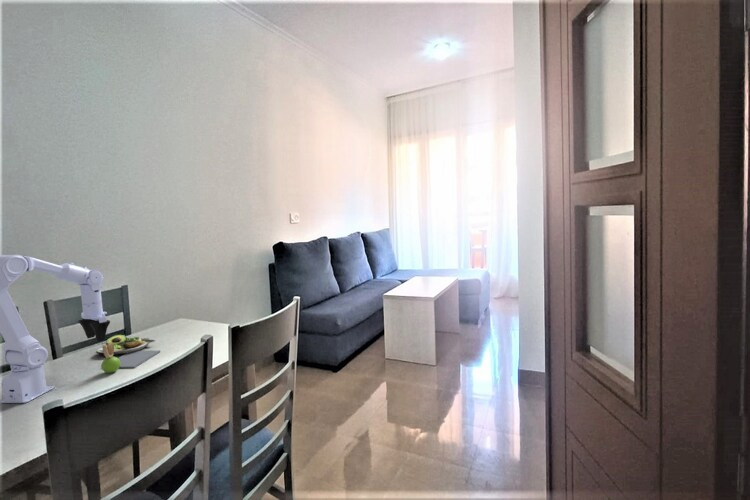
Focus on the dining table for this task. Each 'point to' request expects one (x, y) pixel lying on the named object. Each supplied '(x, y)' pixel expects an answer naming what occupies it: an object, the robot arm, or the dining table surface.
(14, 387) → the robot arm
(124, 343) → the salad plate
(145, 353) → the slate mat
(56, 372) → the dining table surface
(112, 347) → the snail figurine
